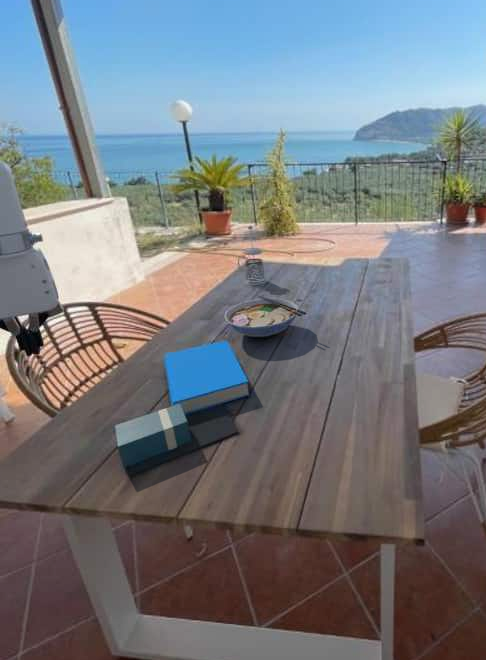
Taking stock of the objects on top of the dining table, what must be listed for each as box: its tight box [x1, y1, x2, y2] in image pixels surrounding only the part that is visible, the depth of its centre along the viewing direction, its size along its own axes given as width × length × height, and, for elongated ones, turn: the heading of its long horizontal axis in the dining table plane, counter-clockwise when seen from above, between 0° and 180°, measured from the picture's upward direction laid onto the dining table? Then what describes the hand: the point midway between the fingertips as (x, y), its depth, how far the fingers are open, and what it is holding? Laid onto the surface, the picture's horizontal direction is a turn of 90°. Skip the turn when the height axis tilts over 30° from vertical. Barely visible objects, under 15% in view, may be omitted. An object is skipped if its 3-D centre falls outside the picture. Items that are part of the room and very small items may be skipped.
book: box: [163, 340, 251, 415], centre depth 99 cm, size 17×4×25 cm
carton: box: [114, 404, 191, 468], centre depth 77 cm, size 5×7×12 cm
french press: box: [237, 225, 268, 286], centre depth 169 cm, size 10×12×25 cm
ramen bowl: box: [224, 294, 307, 338], centre depth 125 cm, size 25×23×8 cm
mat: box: [128, 403, 239, 477], centre depth 81 cm, size 20×12×1 cm, turn 125°
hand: (33, 351), depth 65 cm, fingers closed
